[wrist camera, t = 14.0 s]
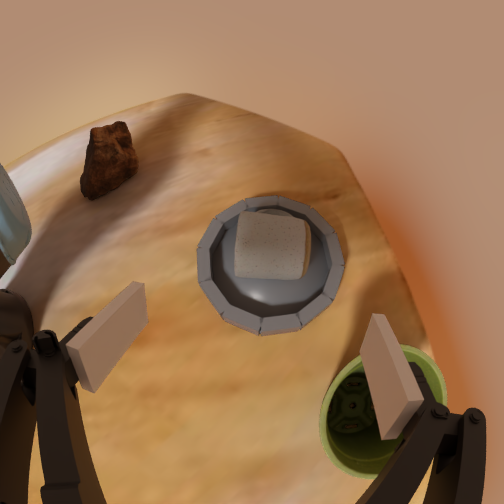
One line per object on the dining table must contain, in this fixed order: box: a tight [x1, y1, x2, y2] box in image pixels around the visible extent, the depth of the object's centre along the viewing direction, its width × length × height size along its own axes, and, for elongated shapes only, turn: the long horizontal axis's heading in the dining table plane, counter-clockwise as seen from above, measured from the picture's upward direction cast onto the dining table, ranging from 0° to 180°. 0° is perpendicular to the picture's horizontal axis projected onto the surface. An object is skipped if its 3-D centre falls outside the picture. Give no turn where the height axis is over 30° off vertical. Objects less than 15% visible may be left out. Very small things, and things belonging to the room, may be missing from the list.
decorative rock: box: [80, 121, 138, 200], centre depth 38 cm, size 12×6×11 cm, turn 125°
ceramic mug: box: [234, 209, 311, 280], centre depth 32 cm, size 10×8×7 cm
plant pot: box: [319, 344, 447, 479], centre depth 22 cm, size 12×12×11 cm
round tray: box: [197, 195, 345, 336], centre depth 34 cm, size 17×17×3 cm
